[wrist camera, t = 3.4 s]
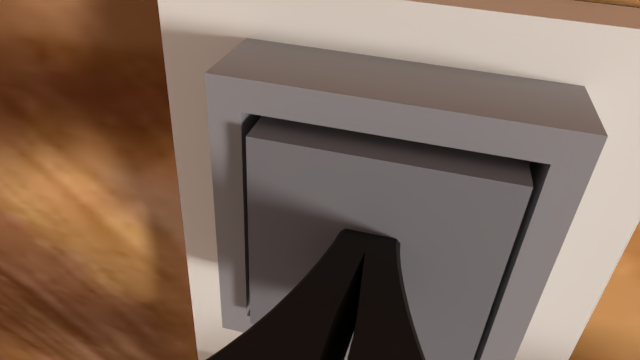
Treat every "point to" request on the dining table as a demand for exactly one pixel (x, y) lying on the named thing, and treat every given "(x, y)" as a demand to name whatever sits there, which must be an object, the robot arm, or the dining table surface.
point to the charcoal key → (385, 220)
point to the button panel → (418, 132)
